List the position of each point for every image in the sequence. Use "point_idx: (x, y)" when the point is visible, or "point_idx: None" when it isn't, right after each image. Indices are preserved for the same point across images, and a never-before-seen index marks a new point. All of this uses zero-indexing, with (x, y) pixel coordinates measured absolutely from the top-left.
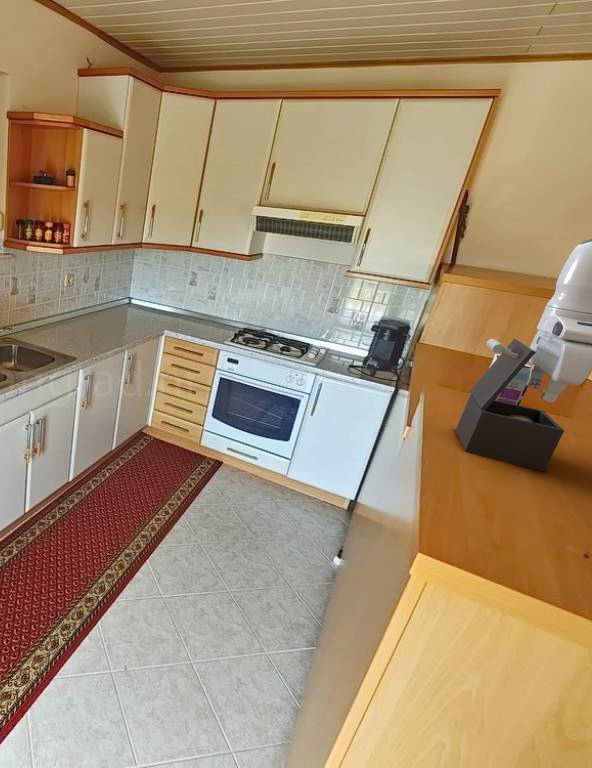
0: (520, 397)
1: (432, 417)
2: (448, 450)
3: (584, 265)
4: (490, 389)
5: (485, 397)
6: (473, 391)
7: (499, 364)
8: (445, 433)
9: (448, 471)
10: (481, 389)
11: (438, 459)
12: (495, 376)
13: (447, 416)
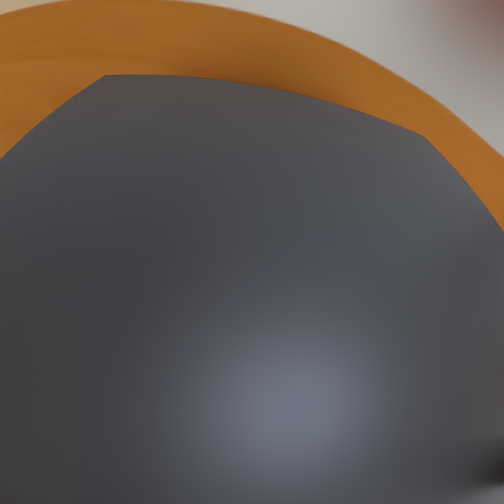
0: None
1: (422, 97)
2: (135, 41)
3: None
4: (158, 109)
5: (147, 89)
6: (391, 127)
7: (474, 290)
8: (297, 70)
9: (9, 44)
10: (324, 119)
11: (57, 20)
12: (299, 179)
13: (444, 151)
